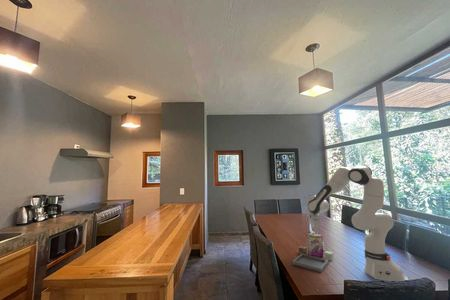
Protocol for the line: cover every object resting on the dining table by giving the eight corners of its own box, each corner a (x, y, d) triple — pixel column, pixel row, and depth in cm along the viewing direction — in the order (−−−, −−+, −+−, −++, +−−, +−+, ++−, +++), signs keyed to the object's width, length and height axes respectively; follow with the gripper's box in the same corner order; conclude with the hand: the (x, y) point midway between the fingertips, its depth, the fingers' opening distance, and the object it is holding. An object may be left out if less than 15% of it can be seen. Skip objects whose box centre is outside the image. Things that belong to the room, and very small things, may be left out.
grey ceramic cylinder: (325, 250, 178) (324, 241, 178) (323, 252, 174) (323, 243, 175) (319, 249, 181) (318, 240, 182) (317, 250, 177) (316, 242, 178)
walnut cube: (307, 253, 172) (306, 247, 173) (304, 255, 168) (304, 248, 169) (301, 251, 175) (300, 245, 176) (299, 253, 172) (298, 247, 172)
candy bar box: (308, 256, 166) (307, 235, 168) (308, 253, 170) (307, 233, 172) (323, 257, 162) (322, 236, 164) (323, 255, 167) (321, 234, 169)
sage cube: (333, 258, 160) (332, 252, 160) (331, 261, 156) (331, 254, 157) (326, 257, 163) (326, 250, 164) (324, 259, 159) (324, 252, 160)
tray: (328, 263, 152) (328, 260, 152) (321, 272, 138) (321, 268, 138) (301, 256, 165) (301, 253, 165) (292, 264, 151) (292, 261, 151)
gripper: (306, 212, 181) (307, 228, 179) (311, 216, 161) (313, 235, 159) (314, 212, 180) (315, 228, 178) (320, 216, 160) (321, 235, 158)
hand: (314, 231), depth 168 cm, fingers open, 8 cm apart
